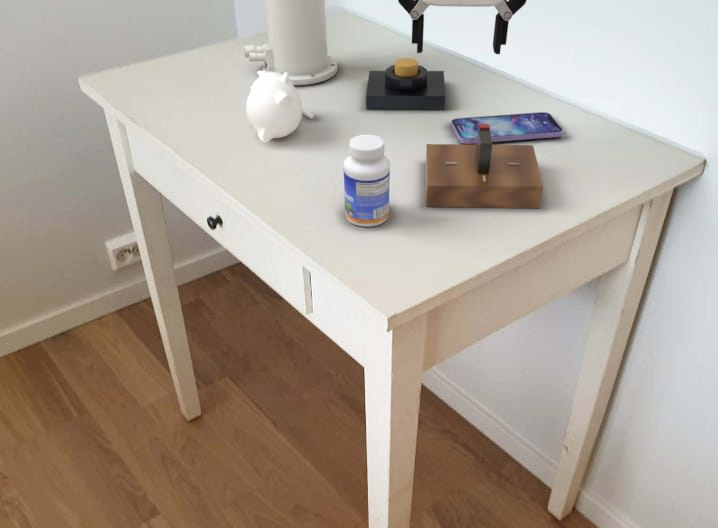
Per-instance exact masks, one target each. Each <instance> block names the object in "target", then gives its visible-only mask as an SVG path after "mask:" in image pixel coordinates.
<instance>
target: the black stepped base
mask: <svg viewBox="0 0 718 528" xmlns="http://www.w3.org/2000/svg"><path fill="white" fill-rule="evenodd" d="M445 84H446V83H445V71H444V70H428V69H427V68H426V67H424V66H423V65H420V64H418V74H417V75H415V76H410V77H402V76H397V75H395V64H392V65H390V66H388V67H387V68H385V70H369V71H368V80H367V87H366V93H365V103H366V104H365V110H366V111H368V110H369V111H371V110H373V111H375V110H377V111H378V110H379V111H381V110H383V111H387V110H389V111H393V110H394V111H399V110H400V111H445V109H446V85H445Z"/></svg>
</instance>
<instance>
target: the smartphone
mask: <svg viewBox="0 0 718 528" xmlns="http://www.w3.org/2000/svg"><path fill="white" fill-rule="evenodd" d="M450 122H451V123H450V127H451V130H452V131H453V133H454V135H455V136H456V138H457V140H458V141H459V142H460V144H463V145H473V144H477V135H478V125H480V124H489V126H490V132H491V138H492V143H496V142H497V143H498V142H510V141H522V140H534V139H550V138H560V137H562V136H563V132H564V129H563V127H562V126H561V125H560V124H559V123H558V121H557V120H556V119H555V118H554V116H553V115H552V114H551V113H549V112H546V111H539V112H525V113H511V114H510V113H509V114H498V115H484V116H471V117H457V118H453V119H452V120H451V121H450Z"/></svg>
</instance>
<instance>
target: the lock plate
mask: <svg viewBox="0 0 718 528" xmlns="http://www.w3.org/2000/svg"><path fill="white" fill-rule="evenodd" d="M476 146H477V144H463V143H460V144H455V143H453V144H449V143H445V144H444V143H441V144H440V143H427V144H426V147H425V206H426V207H427V208H486V209H487V208H489V209H490V208H491V209H494V208H495V209H497V208H498V209H540V208H541V205H542V197H543V191H544V183H543V180H542V175H541V172H540V168H539V164H538V159H537V155H536V152H535V147H534V145H533V144H492V151H491V160H490V170H489V173H478V170H477V161H476Z"/></svg>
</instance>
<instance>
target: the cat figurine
mask: <svg viewBox="0 0 718 528" xmlns="http://www.w3.org/2000/svg"><path fill="white" fill-rule="evenodd" d="M257 75H258V78H256V80H255V81H254V82H253V84H252V85H251V86H250V87H249V89H250V93H249V94H248V97H247V100H246V104H245V111H246V116H247V120H248V122H249V124H250V125H251V127H252V128H253V129H254V130H255V131H256V133H257V134H258V139H259V140H260V141H261V143H264V144H267V143H268V142H270V141H271V140H272V139H280V138H284V137H286V136H289V135H290V134H291V133H293V132H294V131H295V130H296V129H297V128H298V126H299V125H300V122H301V120H302V117H303V115H304V116H306V117H307V118H309V119H311V120H313V118H314V115H313V114H312V112H311V111H310V110H308V109H307V108H306V107H304V106H303V103H302V99H301V97H300V95H299V94H298V92H297V91H296V87H295V85H293V83H292V82H291V81H290V79H289V73H288V72H285V73H284V74H280V73H276V72H270V73H266V72H265V71H263V69H262V70H258V71H257Z"/></svg>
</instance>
